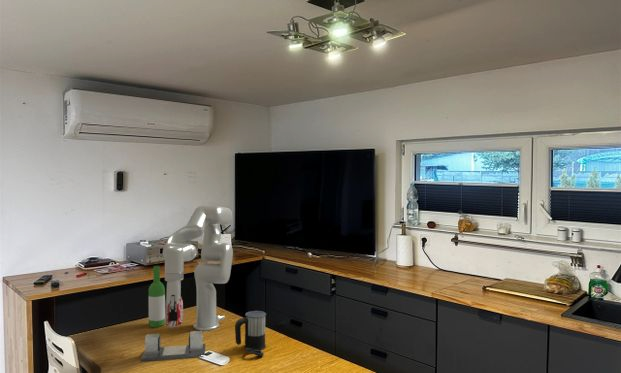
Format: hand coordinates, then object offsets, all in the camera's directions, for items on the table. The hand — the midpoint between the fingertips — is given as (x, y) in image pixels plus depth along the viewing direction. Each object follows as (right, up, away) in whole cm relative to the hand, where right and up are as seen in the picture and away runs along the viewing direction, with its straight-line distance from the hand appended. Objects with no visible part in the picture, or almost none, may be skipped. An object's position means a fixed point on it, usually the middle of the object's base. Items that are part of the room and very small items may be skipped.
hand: (174, 317), depth 180 cm
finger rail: (0, -16, +1) cm, 16 cm away
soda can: (0, -3, 0) cm, 3 cm away
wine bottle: (-20, -15, +35) cm, 43 cm away
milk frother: (+34, -16, +5) cm, 38 cm away
